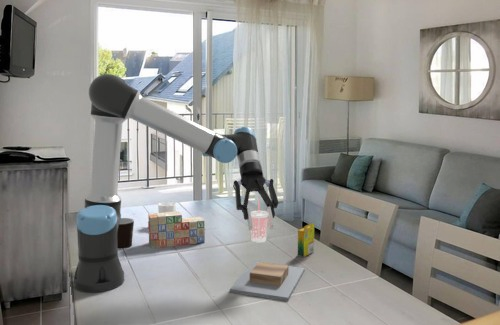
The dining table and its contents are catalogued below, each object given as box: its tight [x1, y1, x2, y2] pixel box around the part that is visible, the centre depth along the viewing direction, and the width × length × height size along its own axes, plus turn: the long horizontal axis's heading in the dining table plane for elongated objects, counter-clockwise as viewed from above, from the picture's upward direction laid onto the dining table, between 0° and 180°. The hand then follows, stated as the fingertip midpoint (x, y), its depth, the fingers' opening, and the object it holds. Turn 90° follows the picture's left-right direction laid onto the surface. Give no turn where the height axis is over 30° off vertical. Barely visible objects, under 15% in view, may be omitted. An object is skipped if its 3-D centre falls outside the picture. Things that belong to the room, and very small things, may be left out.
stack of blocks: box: [147, 210, 206, 249], centre depth 182 cm, size 21×6×12 cm, turn 108°
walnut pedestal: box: [250, 261, 289, 286], centre depth 146 cm, size 10×10×4 cm
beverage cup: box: [250, 196, 268, 244], centre depth 146 cm, size 6×6×14 cm
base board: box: [229, 261, 305, 302], centre depth 146 cm, size 24×18×1 cm
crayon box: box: [297, 222, 315, 258], centre depth 171 cm, size 7×3×12 cm, turn 141°
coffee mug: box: [117, 217, 135, 250], centre depth 179 cm, size 12×9×10 cm
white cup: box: [157, 201, 177, 213], centre depth 205 cm, size 8×8×10 cm
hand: (261, 227), depth 142 cm, fingers closed on beverage cup, 6 cm apart
